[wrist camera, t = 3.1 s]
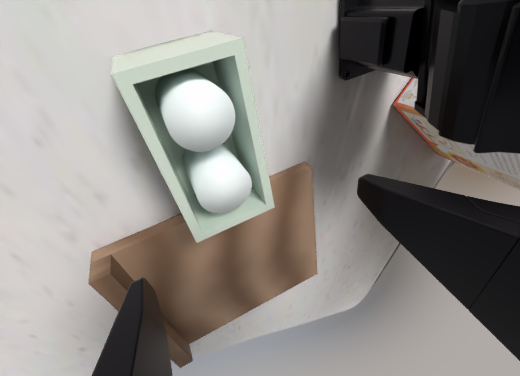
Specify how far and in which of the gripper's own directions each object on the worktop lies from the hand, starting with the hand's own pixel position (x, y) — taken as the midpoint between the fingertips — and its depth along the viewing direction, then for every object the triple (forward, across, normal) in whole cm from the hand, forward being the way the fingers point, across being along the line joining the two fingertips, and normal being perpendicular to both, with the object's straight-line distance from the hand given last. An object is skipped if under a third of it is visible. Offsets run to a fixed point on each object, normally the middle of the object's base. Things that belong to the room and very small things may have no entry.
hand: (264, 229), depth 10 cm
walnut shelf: (+12, +1, +16) cm, 20 cm away
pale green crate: (+12, 0, 0) cm, 12 cm away
